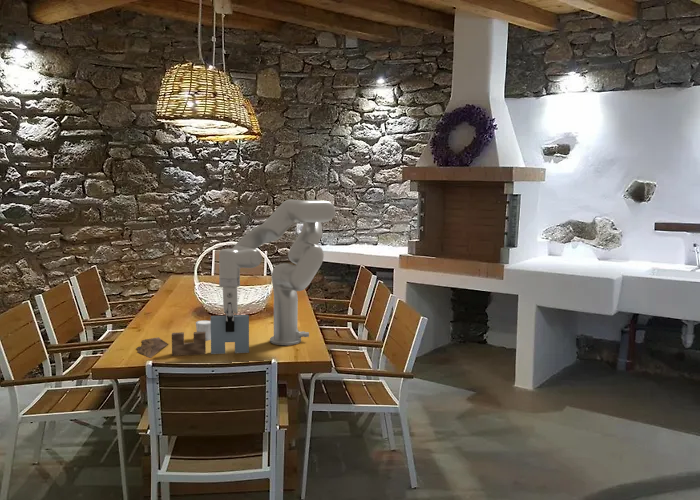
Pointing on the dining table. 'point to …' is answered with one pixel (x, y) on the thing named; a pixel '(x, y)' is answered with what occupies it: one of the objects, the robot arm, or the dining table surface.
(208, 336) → the white topped beige cylinder
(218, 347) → the blue-grey notched panel
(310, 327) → the dining table surface
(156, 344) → the wooden fragment
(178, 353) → the wood grain block
